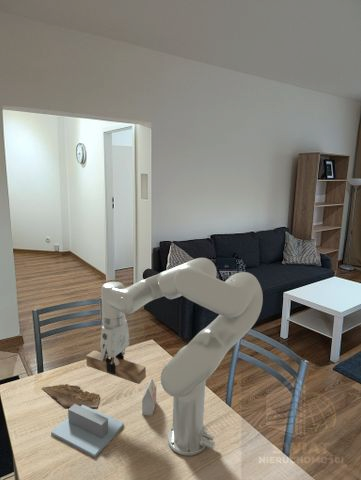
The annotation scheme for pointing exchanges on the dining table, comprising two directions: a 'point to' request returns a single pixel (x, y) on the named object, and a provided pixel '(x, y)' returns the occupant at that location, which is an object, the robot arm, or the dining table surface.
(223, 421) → the dining table surface
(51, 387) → the wooden fragment
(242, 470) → the dining table surface
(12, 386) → the dining table surface
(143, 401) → the grey pointed block
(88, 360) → the walnut bar
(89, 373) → the dining table surface
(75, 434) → the ridge stand
